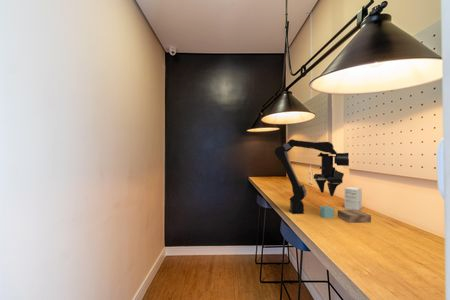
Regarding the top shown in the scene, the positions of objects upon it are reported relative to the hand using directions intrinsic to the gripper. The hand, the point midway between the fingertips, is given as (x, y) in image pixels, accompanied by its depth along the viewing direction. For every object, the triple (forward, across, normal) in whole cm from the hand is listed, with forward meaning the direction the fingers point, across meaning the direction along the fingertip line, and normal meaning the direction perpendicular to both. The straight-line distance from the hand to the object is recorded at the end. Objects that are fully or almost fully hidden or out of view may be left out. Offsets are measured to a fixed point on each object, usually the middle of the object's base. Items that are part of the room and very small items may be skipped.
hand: (326, 194), depth 120 cm
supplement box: (+12, +14, -25) cm, 31 cm away
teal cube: (+12, 0, 0) cm, 12 cm away
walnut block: (+12, -6, -11) cm, 18 cm away
